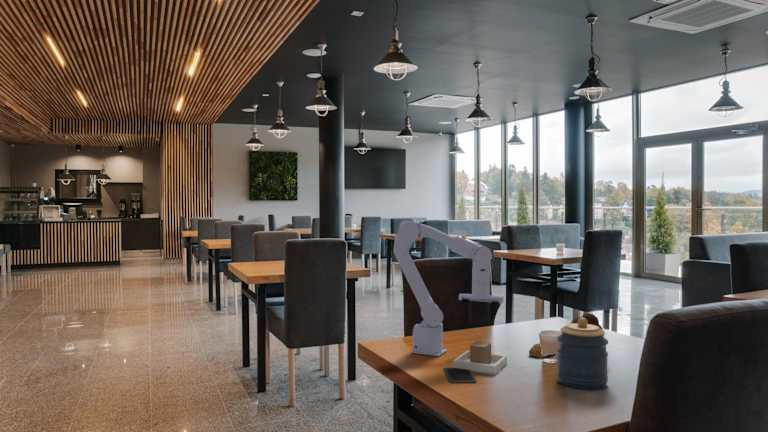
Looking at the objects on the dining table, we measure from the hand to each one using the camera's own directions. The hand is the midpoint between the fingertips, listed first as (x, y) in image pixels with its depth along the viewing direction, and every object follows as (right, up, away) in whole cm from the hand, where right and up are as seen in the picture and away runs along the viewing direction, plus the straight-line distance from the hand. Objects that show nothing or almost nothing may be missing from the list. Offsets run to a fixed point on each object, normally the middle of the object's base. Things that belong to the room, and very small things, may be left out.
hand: (480, 323), depth 180 cm
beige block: (-3, -9, -16) cm, 19 cm away
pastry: (+19, -10, -2) cm, 22 cm away
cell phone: (-10, -10, -25) cm, 29 cm away
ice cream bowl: (+31, -10, -10) cm, 34 cm away
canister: (+22, -10, -32) cm, 40 cm away
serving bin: (-3, -10, -16) cm, 19 cm away
